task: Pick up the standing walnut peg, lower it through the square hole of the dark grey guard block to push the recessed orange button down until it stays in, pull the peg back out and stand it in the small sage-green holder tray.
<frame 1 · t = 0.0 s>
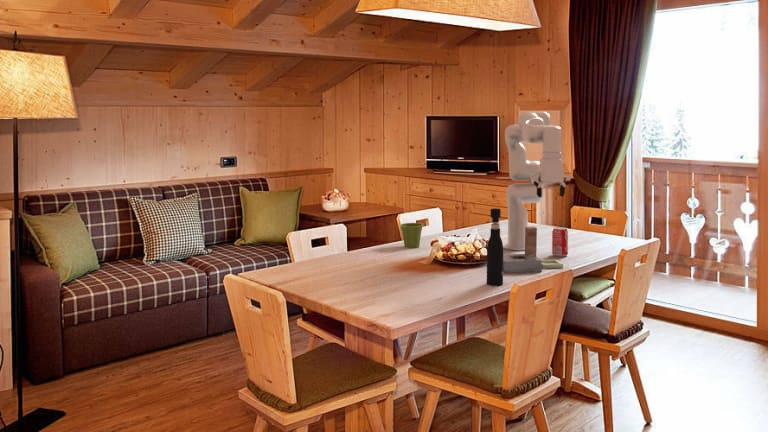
hand: (550, 196, 318), 31 cm above the table, tool pointing down, fingers open, 9 cm apart
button: (518, 263, 323), point 3 cm above the table, slide at 0.0 cm
walnut peg: (530, 262, 336), on the table
soda can: (559, 256, 350), on the table
wine bottle: (494, 284, 298), on the table
guard block: (518, 269, 324), on the table
plant pot: (411, 247, 374), on the table
holder tray: (549, 266, 328), on the table
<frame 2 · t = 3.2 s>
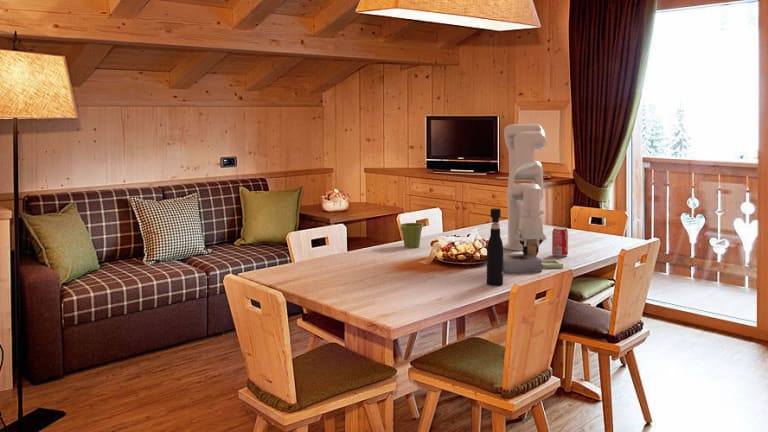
hand: (530, 254, 335), 4 cm above the table, tool pointing down, fingers closed on walnut peg, 4 cm apart
walnut peg: (530, 262, 336), on the table, touching gripper
everything else where it was.
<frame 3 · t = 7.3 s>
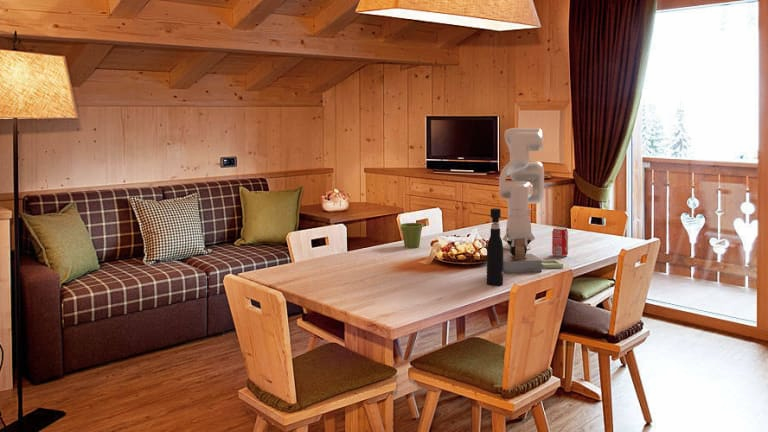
hand: (518, 254, 323), 6 cm above the table, tool pointing down, fingers closed on walnut peg, 4 cm apart
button: (518, 265, 323), point 1 cm above the table, slide at 1.1 cm, touching walnut peg
walnut peg: (518, 263, 323), point 2 cm above the table, touching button, gripper
everything else where it was.
when the fingers open (5 cm above the table, at t = 12.3 s): walnut peg stays where it is, resting on holder tray.
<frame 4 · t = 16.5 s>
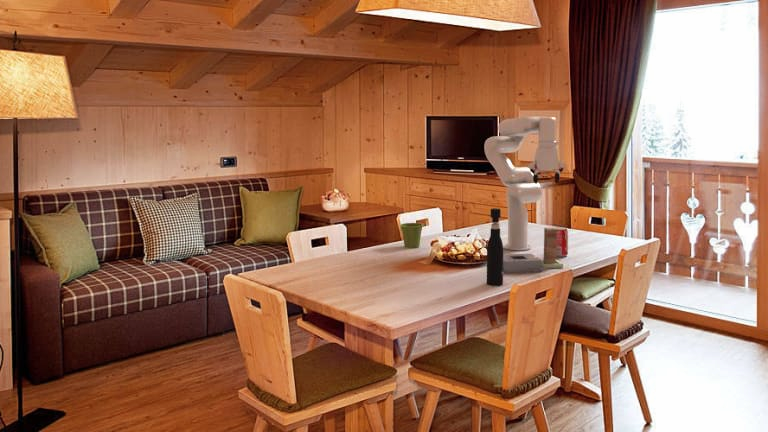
hand: (546, 182, 341), 34 cm above the table, tool pointing down, fingers open, 9 cm apart
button: (518, 265, 323), point 1 cm above the table, slide at 1.1 cm
walnut peg: (549, 264, 328), point 1 cm above the table, touching holder tray
everything else where it was.
at the end: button slide at 1.1 cm; walnut peg 0.0 cm off-centre on the holder tray, point 0.6 cm above the holder tray's base; walnut peg tilted 0° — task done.
